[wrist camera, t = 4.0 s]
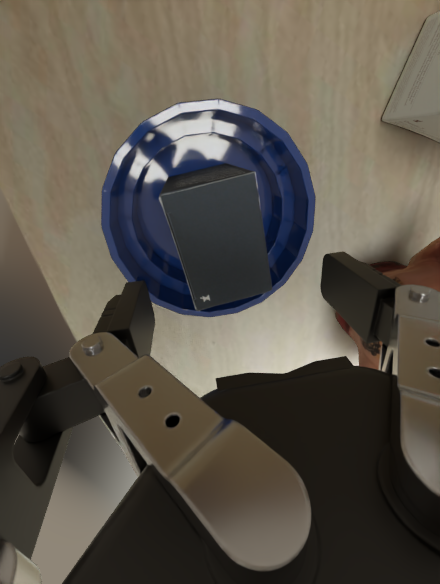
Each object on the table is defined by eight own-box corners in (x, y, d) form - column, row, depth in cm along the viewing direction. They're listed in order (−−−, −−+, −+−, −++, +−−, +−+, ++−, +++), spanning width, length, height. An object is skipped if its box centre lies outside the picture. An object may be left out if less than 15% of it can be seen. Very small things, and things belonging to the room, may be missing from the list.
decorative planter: (341, 200, 27) (473, 242, 15) (450, 194, 28) (655, 229, 16) (313, 352, 36) (379, 454, 24) (395, 343, 38) (497, 436, 26)
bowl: (142, 296, 29) (134, 329, 24) (93, 122, 21) (65, 114, 16) (286, 275, 30) (308, 302, 25) (290, 101, 22) (323, 87, 17)
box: (242, 243, 27) (274, 293, 18) (189, 257, 27) (193, 313, 18) (227, 160, 23) (258, 169, 14) (165, 176, 23) (155, 195, 14)
